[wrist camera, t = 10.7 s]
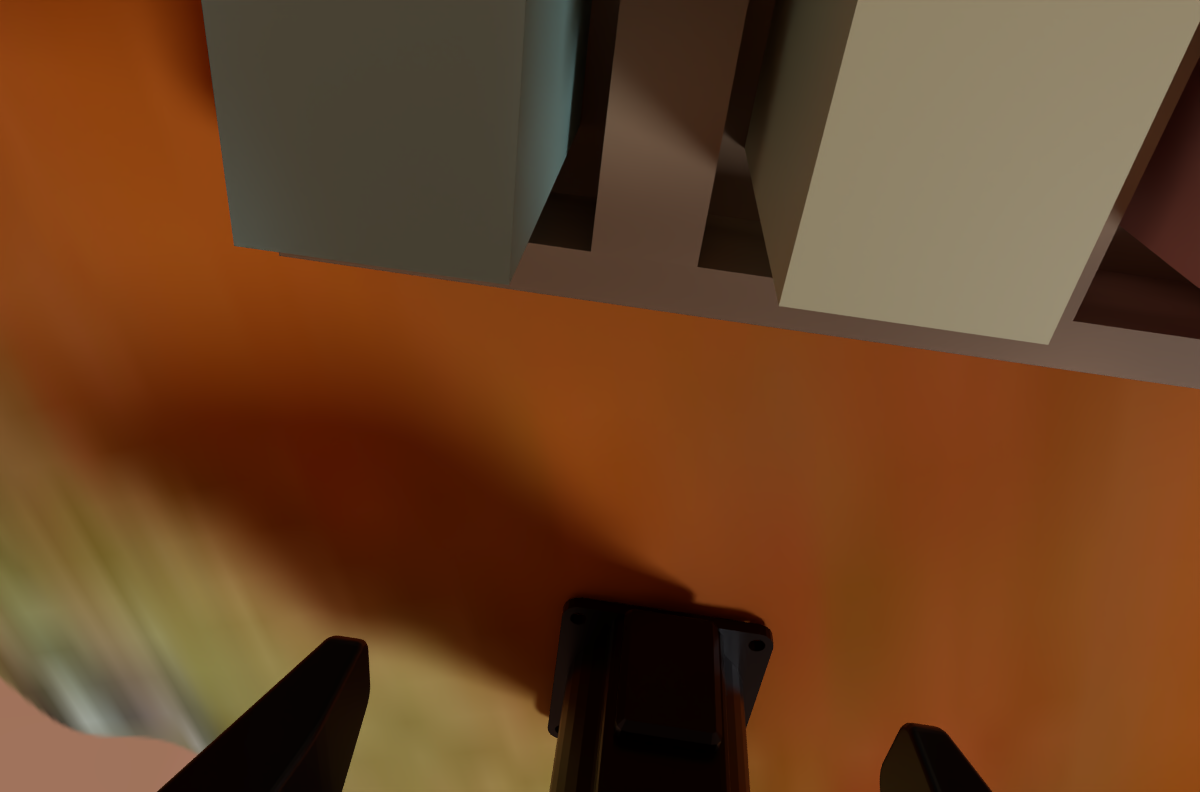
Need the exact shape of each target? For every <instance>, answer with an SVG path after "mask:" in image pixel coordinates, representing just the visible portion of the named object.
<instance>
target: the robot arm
mask: <svg viewBox="0 0 1200 792" xmlns="http://www.w3.org/2000/svg"><path fill="white" fill-rule="evenodd" d="M575 613H581V614H584V615H578V614H575ZM753 640H760V641H753ZM772 650H773V637H772V632H771V631H770V629H769V628H767V627H766V626H763V625H760V624H753V623H747V622H740V621H734V620H727V619H720V618H714V617H707V616H700V615H694V614H687V613H680V612H674V611H667V610H660V609H654V608H647V607H640V606H634V605H627V604H620V603H614V602H607V601H600V600H594V599H587V598H572V599H569V600H568V601H567V602H566V603H565V605H564V609H563V615H562V622H561V630H560V638H559V645H558V653H557V661H556V669H555V676H554V684H553V692H552V699H551V707H550V715H549V722H548V731H549V733H550V734H551V735H552V736H554V737H556V738H558V739H557V745H556V752H555V758H554V765H553V771H552V778H551V785H550V791H549V792H750V783H749V769H748V754H747V740H746V727H747V724H748V721H749V718H750V715H751V712H752V709H753V706H754V703H755V700H756V697H757V694H758V691H759V688H760V685H761V682H762V679H763V676H764V674H765V671H766V668H767V665H768V662H769V659H770V656H771V653H772ZM369 694H370V673H369V655H368V646H367V643H366V642H365V641H364V640H362V639H357V638H350V637H343V636H332V637H329V638H327V639H326V640H325V641H324V642H323V643H321V644H320V645H319V646H318V647H317V648H316V649H315V650H314V651H313V652H311V653H310V654H309V655H308V656H307V657H306V658H305V659H304V660H303V661H301V662H300V663H299V664H298V665H297V666H296V667H295V668H294V669H293V670H291V671H290V672H289V673H288V674H287V675H286V676H285V677H284V678H283V679H282V680H280V681H279V682H278V683H277V684H276V685H275V686H274V687H273V688H272V689H270V690H269V691H268V692H267V693H266V694H265V695H264V696H263V697H262V698H260V699H259V700H258V701H257V702H256V703H255V704H254V705H253V706H252V707H250V708H249V709H248V710H247V711H246V712H245V713H244V714H243V715H242V716H240V717H239V718H238V719H237V720H236V721H235V722H234V723H233V724H232V725H231V726H229V727H228V728H227V729H226V730H225V731H224V732H223V733H222V734H221V735H219V736H218V737H217V738H216V739H215V740H214V741H213V742H212V743H211V744H209V745H208V746H207V747H206V748H205V749H204V750H203V751H202V752H201V753H199V754H198V755H197V756H196V757H195V758H194V759H193V760H192V761H191V762H189V763H188V764H187V765H186V766H185V767H184V768H183V769H182V770H181V771H180V772H178V773H177V774H176V775H175V776H174V777H173V778H172V779H171V780H170V781H168V782H167V783H166V784H165V785H164V786H163V787H162V788H161V789H160V790H159V791H157V792H342V789H343V786H344V783H345V779H346V776H347V772H348V769H349V766H350V762H351V759H352V755H353V752H354V749H355V745H356V742H357V738H358V735H359V732H360V728H361V725H362V721H363V718H364V715H365V711H366V708H367V704H368V699H369ZM880 792H992V791H991V789H990V788H989V787H988V786H987V784H986V783H985V782H984V780H983V779H982V778H981V777H980V775H979V774H978V773H977V771H976V770H975V769H974V768H973V766H972V765H971V764H970V762H969V761H968V760H967V758H966V757H965V756H964V755H963V753H962V752H961V751H960V749H959V748H958V747H957V746H956V744H955V743H954V742H953V740H952V739H951V738H950V737H949V735H948V734H947V733H946V732H945V731H943V730H942V729H940V728H938V727H935V726H929V725H922V724H916V723H906V724H905V725H903V726H902V727H901V728H900V730H899V732H898V734H897V736H896V738H895V740H894V742H893V744H892V746H891V748H890V750H889V752H888V754H887V756H886V758H885V760H884V762H883V764H882V768H881V772H880Z"/></svg>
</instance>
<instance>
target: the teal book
mask: <svg viewBox="0 0 1200 792" xmlns="http://www.w3.org/2000/svg"><path fill="white" fill-rule="evenodd" d="M201 3H202V10H203V17H204V25H205V32H206V40H207V47H208V55H209V62H210V69H211V77H212V84H213V92H214V99H215V106H216V114H217V121H218V129H219V136H220V144H221V151H222V158H223V166H224V173H225V181H226V188H227V195H228V203H229V210H230V218H231V225H232V233H233V240H234V246H239V247H246V248H253V249H260V250H267V251H274V252H281V253H288V254H295V255H302V256H309V257H316V258H323V259H330V260H337V261H344V262H351V263H358V264H365V265H372V266H379V267H386V268H393V269H400V270H407V271H414V272H421V273H428V274H435V275H442V276H449V277H456V278H463V279H470V280H477V281H484V282H491V283H498V284H504V285H509V284H510V282H511V279H512V277H513V275H514V273H515V270H516V268H517V266H518V264H519V261H520V259H521V257H522V255H523V252H524V250H525V248H526V246H527V243H528V241H529V239H530V237H531V234H532V232H533V230H534V228H535V225H536V223H537V221H538V219H539V216H540V214H541V212H542V210H543V207H544V205H545V203H546V201H547V198H548V196H549V194H550V192H551V189H552V187H553V185H554V183H555V180H556V178H557V176H558V174H559V171H560V169H561V167H562V165H563V162H564V160H565V158H566V156H567V153H568V151H569V149H570V147H571V144H572V142H573V140H574V138H575V135H576V133H577V131H578V129H579V126H580V118H581V108H582V98H583V88H584V78H585V68H586V58H587V47H588V37H589V27H590V17H591V7H592V0H201Z"/></svg>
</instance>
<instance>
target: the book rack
mask: <svg viewBox="0 0 1200 792" xmlns="http://www.w3.org/2000/svg"><path fill="white" fill-rule="evenodd" d="M775 1H776V0H592V7H591V17H590V27H589V37H588V47H587V58H586V68H585V78H584V88H583V98H582V108H581V118H580V126H579V129H578V131H577V133H576V135H575V138H574V140H573V142H572V144H571V147H570V149H569V151H568V153H567V156H566V158H565V160H564V162H563V165H562V167H561V169H560V171H559V174H558V176H557V178H556V180H555V183H554V185H553V187H552V189H551V192H550V194H549V196H548V198H547V201H546V203H545V205H544V207H543V210H542V212H541V214H540V216H539V219H538V221H537V223H536V225H535V228H534V230H533V232H532V234H531V237H530V239H529V241H528V243H527V246H526V248H525V250H524V252H523V255H522V257H521V259H520V261H519V264H518V266H517V268H516V270H515V273H514V275H513V277H512V279H511V282H510V284H509V285H504V284H498V283H491V282H484V281H477V280H470V279H463V278H456V277H449V276H442V275H435V274H428V273H421V272H414V271H407V270H400V269H393V268H386V267H379V266H372V265H365V264H358V263H351V262H344V261H337V260H330V259H323V258H316V257H309V256H302V255H295V254H288V253H281V252H279V256H285V257H292V258H299V259H306V260H313V261H320V262H326V263H333V264H340V265H347V266H354V267H361V268H368V269H375V270H382V271H389V272H395V273H402V274H409V275H416V276H423V277H430V278H437V279H444V280H451V281H458V282H465V283H471V284H478V285H485V286H492V287H499V288H506V289H513V290H520V291H527V292H534V293H540V294H547V295H554V296H561V297H568V298H575V299H582V300H589V301H596V302H603V303H609V304H616V305H623V306H630V307H637V308H644V309H651V310H658V311H665V312H672V313H678V314H685V315H692V316H699V317H706V318H713V319H720V320H727V321H734V322H741V323H747V324H754V325H761V326H768V327H775V328H782V329H789V330H796V331H803V332H810V333H816V334H823V335H830V336H837V337H844V338H851V339H858V340H865V341H872V342H879V343H885V344H892V345H899V346H906V347H913V348H920V349H927V350H934V351H941V352H948V353H954V354H961V355H968V356H975V357H982V358H989V359H996V360H1003V361H1010V362H1017V363H1023V364H1030V365H1037V366H1044V367H1051V368H1058V369H1065V370H1072V371H1079V372H1086V373H1092V374H1099V375H1106V376H1113V377H1120V378H1127V379H1134V380H1141V381H1148V382H1155V383H1161V384H1168V385H1175V386H1182V387H1189V388H1196V389H1200V289H1199V288H1198V287H1197V286H1195V285H1194V284H1193V283H1192V282H1190V281H1189V280H1188V279H1186V278H1185V277H1184V276H1183V275H1181V274H1180V273H1179V272H1178V271H1176V270H1175V269H1174V268H1173V267H1171V266H1170V265H1169V264H1167V263H1166V262H1165V261H1164V260H1162V259H1161V258H1160V257H1159V256H1157V255H1156V254H1155V253H1154V252H1152V251H1151V250H1150V249H1149V248H1147V247H1146V246H1145V245H1143V244H1142V243H1141V242H1140V241H1138V240H1137V239H1136V238H1135V237H1133V236H1132V235H1131V234H1130V233H1128V232H1127V231H1126V230H1124V229H1123V228H1122V227H1121V226H1119V224H1120V222H1121V220H1122V217H1123V215H1124V213H1125V211H1126V209H1127V207H1128V205H1129V203H1130V201H1131V199H1132V197H1133V194H1134V192H1135V190H1136V188H1137V186H1138V184H1139V182H1140V180H1141V178H1142V176H1143V174H1144V171H1145V169H1146V167H1147V165H1148V163H1149V161H1150V159H1151V157H1152V155H1153V153H1154V151H1155V148H1156V146H1157V144H1158V142H1159V140H1160V138H1161V136H1162V134H1163V132H1164V130H1165V128H1166V126H1167V123H1168V121H1169V119H1170V117H1171V115H1172V113H1173V111H1174V109H1175V107H1176V105H1177V103H1178V100H1179V98H1180V96H1181V94H1182V92H1183V90H1184V88H1185V86H1186V84H1187V82H1188V80H1189V77H1190V75H1191V73H1192V71H1193V69H1194V67H1195V65H1196V63H1197V61H1198V59H1199V57H1200V22H1199V24H1198V26H1197V28H1196V30H1195V33H1194V35H1193V37H1192V39H1191V41H1190V43H1189V45H1188V48H1187V50H1186V52H1185V54H1184V56H1183V58H1182V60H1181V62H1180V65H1179V67H1178V69H1177V71H1176V73H1175V75H1174V77H1173V80H1172V82H1171V84H1170V86H1169V88H1168V90H1167V92H1166V94H1165V97H1164V99H1163V101H1162V103H1161V105H1160V107H1159V109H1158V112H1157V114H1156V116H1155V118H1154V120H1153V122H1152V124H1151V126H1150V129H1149V131H1148V133H1147V135H1146V137H1145V139H1144V141H1143V144H1142V146H1141V148H1140V150H1139V152H1138V154H1137V156H1136V158H1135V161H1134V163H1133V165H1132V167H1131V169H1130V171H1129V173H1128V176H1127V178H1126V180H1125V182H1124V184H1123V186H1122V188H1121V190H1120V193H1119V195H1118V197H1117V199H1116V201H1115V203H1114V205H1113V208H1112V210H1111V212H1110V214H1109V216H1108V218H1107V220H1106V222H1105V225H1104V227H1103V229H1102V231H1101V233H1100V235H1099V237H1098V240H1097V242H1096V244H1095V246H1094V248H1093V250H1092V252H1091V254H1090V257H1089V259H1088V261H1087V263H1086V265H1085V267H1084V269H1083V272H1082V274H1081V276H1080V278H1079V280H1078V282H1077V284H1076V286H1075V289H1074V291H1073V293H1072V295H1071V297H1070V299H1069V301H1068V304H1067V306H1066V308H1065V310H1064V312H1063V314H1062V316H1061V318H1060V321H1059V323H1058V325H1057V327H1056V329H1055V331H1054V333H1053V336H1052V338H1051V340H1050V342H1049V344H1048V345H1046V344H1039V343H1032V342H1025V341H1018V340H1011V339H1004V338H997V337H990V336H983V335H976V334H969V333H963V332H956V331H949V330H942V329H935V328H928V327H921V326H914V325H907V324H900V323H893V322H886V321H879V320H873V319H866V318H859V317H852V316H845V315H838V314H831V313H824V312H817V311H810V310H803V309H796V308H790V307H783V306H779V305H778V300H777V295H776V291H775V286H774V281H773V277H772V272H771V268H770V263H769V258H768V254H767V249H766V245H765V240H764V235H763V231H762V226H761V221H760V217H759V212H758V208H757V203H756V198H755V194H754V189H753V185H752V180H751V175H750V171H749V166H748V162H747V157H746V152H745V144H746V139H747V134H748V130H749V125H750V120H751V115H752V111H753V106H754V101H755V96H756V91H757V87H758V82H759V77H760V72H761V68H762V63H763V58H764V53H765V48H766V44H767V39H768V34H769V29H770V25H771V20H772V15H773V10H774V6H775Z"/></svg>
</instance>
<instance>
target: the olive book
mask: <svg viewBox="0 0 1200 792" xmlns="http://www.w3.org/2000/svg"><path fill="white" fill-rule="evenodd" d="M1199 22H1200V0H776V1H775V6H774V10H773V15H772V20H771V25H770V29H769V34H768V39H767V44H766V48H765V53H764V58H763V63H762V68H761V72H760V77H759V82H758V87H757V91H756V96H755V101H754V106H753V111H752V115H751V120H750V125H749V130H748V134H747V139H746V144H745V152H746V157H747V162H748V166H749V171H750V175H751V180H752V185H753V189H754V194H755V198H756V203H757V208H758V212H759V217H760V221H761V226H762V231H763V235H764V240H765V245H766V249H767V254H768V258H769V263H770V268H771V272H772V277H773V281H774V286H775V291H776V295H777V300H778V305H779V306H783V307H790V308H796V309H803V310H810V311H817V312H824V313H831V314H838V315H845V316H852V317H859V318H866V319H873V320H879V321H886V322H893V323H900V324H907V325H914V326H921V327H928V328H935V329H942V330H949V331H956V332H963V333H969V334H976V335H983V336H990V337H997V338H1004V339H1011V340H1018V341H1025V342H1032V343H1039V344H1046V345H1048V344H1049V342H1050V340H1051V338H1052V336H1053V333H1054V331H1055V329H1056V327H1057V325H1058V323H1059V321H1060V318H1061V316H1062V314H1063V312H1064V310H1065V308H1066V306H1067V304H1068V301H1069V299H1070V297H1071V295H1072V293H1073V291H1074V289H1075V286H1076V284H1077V282H1078V280H1079V278H1080V276H1081V274H1082V272H1083V269H1084V267H1085V265H1086V263H1087V261H1088V259H1089V257H1090V254H1091V252H1092V250H1093V248H1094V246H1095V244H1096V242H1097V240H1098V237H1099V235H1100V233H1101V231H1102V229H1103V227H1104V225H1105V222H1106V220H1107V218H1108V216H1109V214H1110V212H1111V210H1112V208H1113V205H1114V203H1115V201H1116V199H1117V197H1118V195H1119V193H1120V190H1121V188H1122V186H1123V184H1124V182H1125V180H1126V178H1127V176H1128V173H1129V171H1130V169H1131V167H1132V165H1133V163H1134V161H1135V158H1136V156H1137V154H1138V152H1139V150H1140V148H1141V146H1142V144H1143V141H1144V139H1145V137H1146V135H1147V133H1148V131H1149V129H1150V126H1151V124H1152V122H1153V120H1154V118H1155V116H1156V114H1157V112H1158V109H1159V107H1160V105H1161V103H1162V101H1163V99H1164V97H1165V94H1166V92H1167V90H1168V88H1169V86H1170V84H1171V82H1172V80H1173V77H1174V75H1175V73H1176V71H1177V69H1178V67H1179V65H1180V62H1181V60H1182V58H1183V56H1184V54H1185V52H1186V50H1187V48H1188V45H1189V43H1190V41H1191V39H1192V37H1193V35H1194V33H1195V30H1196V28H1197V26H1198V24H1199Z"/></svg>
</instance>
